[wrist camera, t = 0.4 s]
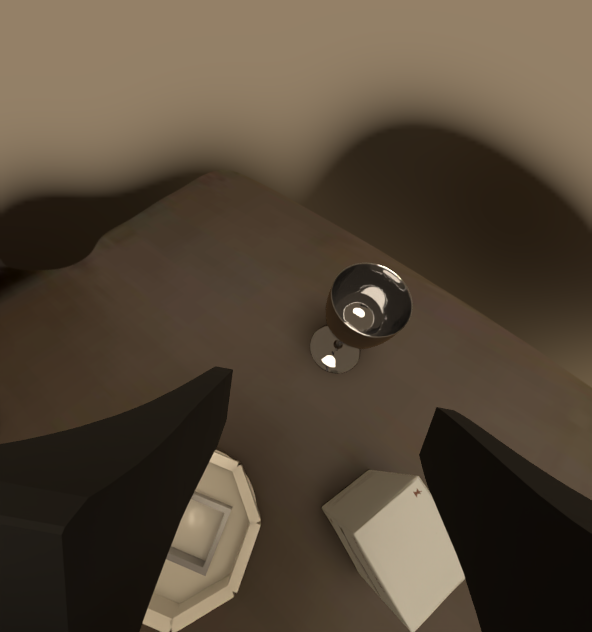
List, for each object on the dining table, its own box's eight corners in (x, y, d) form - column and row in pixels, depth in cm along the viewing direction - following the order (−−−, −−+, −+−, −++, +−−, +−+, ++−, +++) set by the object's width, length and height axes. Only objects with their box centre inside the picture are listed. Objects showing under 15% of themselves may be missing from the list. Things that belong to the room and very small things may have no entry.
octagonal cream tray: (221, 634, 29) (216, 659, 26) (84, 574, 30) (60, 590, 26) (277, 474, 36) (279, 476, 32) (162, 427, 36) (152, 424, 33)
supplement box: (318, 506, 35) (350, 530, 23) (369, 467, 37) (420, 472, 26) (357, 575, 33) (412, 638, 21) (408, 529, 35) (483, 564, 24)
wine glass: (322, 385, 41) (356, 349, 27) (297, 333, 43) (317, 276, 30) (373, 363, 43) (428, 319, 29) (346, 314, 45) (386, 253, 32)
